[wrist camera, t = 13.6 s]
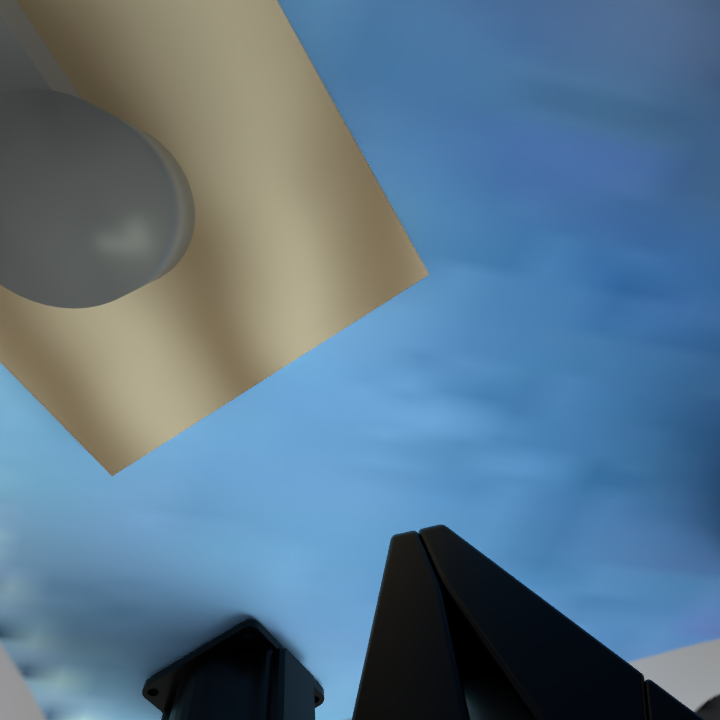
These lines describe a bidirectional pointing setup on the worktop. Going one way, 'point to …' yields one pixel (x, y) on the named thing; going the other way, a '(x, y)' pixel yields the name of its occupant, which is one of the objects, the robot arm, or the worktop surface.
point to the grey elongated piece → (78, 186)
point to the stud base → (209, 222)
